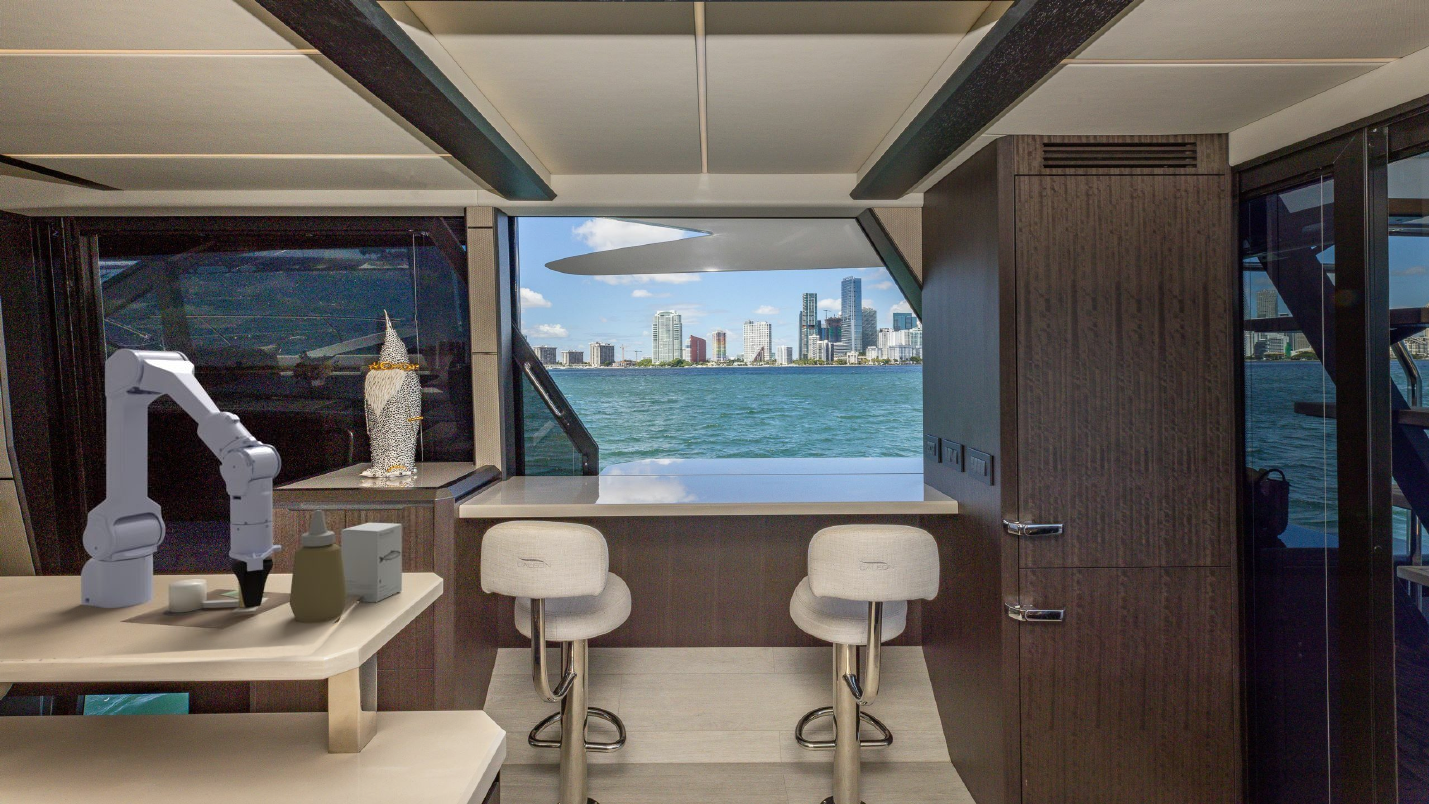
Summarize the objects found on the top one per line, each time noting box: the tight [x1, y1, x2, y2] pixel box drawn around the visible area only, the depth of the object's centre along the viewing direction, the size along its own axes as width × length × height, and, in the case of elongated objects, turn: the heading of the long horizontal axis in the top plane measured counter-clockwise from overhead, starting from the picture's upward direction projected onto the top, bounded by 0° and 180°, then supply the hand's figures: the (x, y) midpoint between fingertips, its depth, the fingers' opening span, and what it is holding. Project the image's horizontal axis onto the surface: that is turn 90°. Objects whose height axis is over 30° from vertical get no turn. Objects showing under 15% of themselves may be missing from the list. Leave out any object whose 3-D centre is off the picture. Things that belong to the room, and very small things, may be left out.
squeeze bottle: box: [289, 509, 348, 625], centre depth 116 cm, size 8×8×18 cm
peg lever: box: [168, 578, 245, 612], centre depth 119 cm, size 13×5×5 cm, turn 101°
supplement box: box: [340, 522, 403, 603], centre depth 131 cm, size 7×7×13 cm
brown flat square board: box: [119, 588, 291, 630], centre depth 120 cm, size 18×18×1 cm
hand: (252, 605), depth 117 cm, fingers closed
